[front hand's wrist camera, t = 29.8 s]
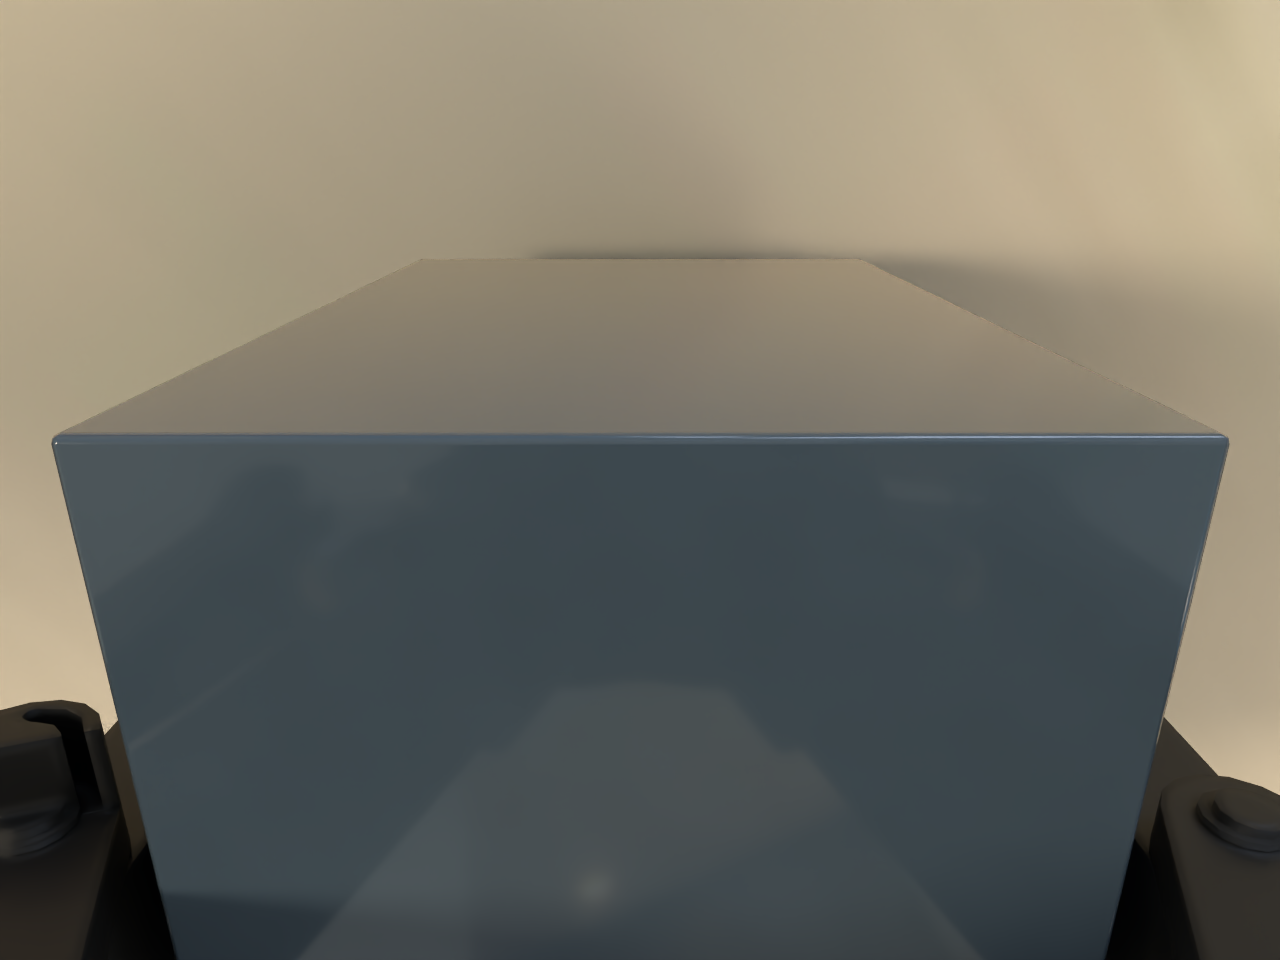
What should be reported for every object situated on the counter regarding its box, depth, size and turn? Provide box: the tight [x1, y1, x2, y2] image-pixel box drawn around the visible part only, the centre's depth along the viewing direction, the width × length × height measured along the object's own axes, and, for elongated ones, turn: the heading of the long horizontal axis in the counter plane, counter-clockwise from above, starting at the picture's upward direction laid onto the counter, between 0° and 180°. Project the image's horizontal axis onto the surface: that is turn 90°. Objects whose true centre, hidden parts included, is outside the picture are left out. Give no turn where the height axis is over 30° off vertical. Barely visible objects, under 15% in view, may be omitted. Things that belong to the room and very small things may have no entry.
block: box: [52, 259, 1229, 960], centre depth 11 cm, size 7×9×9 cm
